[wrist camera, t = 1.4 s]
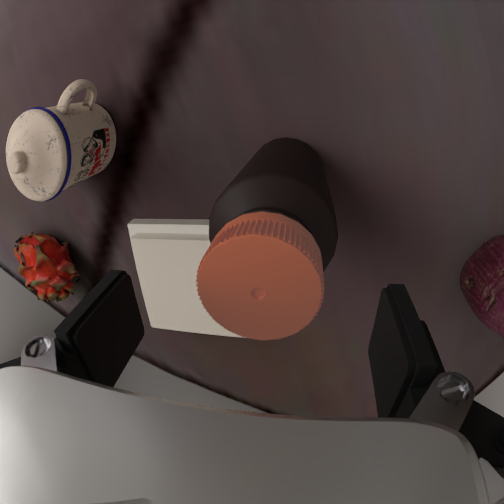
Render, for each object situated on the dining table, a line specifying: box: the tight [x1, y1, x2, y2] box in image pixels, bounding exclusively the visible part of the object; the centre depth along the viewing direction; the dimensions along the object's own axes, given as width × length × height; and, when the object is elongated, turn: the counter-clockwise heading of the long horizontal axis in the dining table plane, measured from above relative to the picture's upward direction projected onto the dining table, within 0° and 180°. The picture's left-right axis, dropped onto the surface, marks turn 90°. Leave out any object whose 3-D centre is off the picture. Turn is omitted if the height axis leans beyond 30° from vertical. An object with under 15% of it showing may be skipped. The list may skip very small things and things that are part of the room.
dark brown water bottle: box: [196, 138, 338, 341], centre depth 21 cm, size 7×7×20 cm
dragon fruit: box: [14, 232, 81, 302], centre depth 36 cm, size 8×8×12 cm
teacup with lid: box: [6, 79, 116, 201], centre depth 25 cm, size 12×9×12 cm
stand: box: [128, 219, 245, 338], centre depth 35 cm, size 14×14×3 cm
